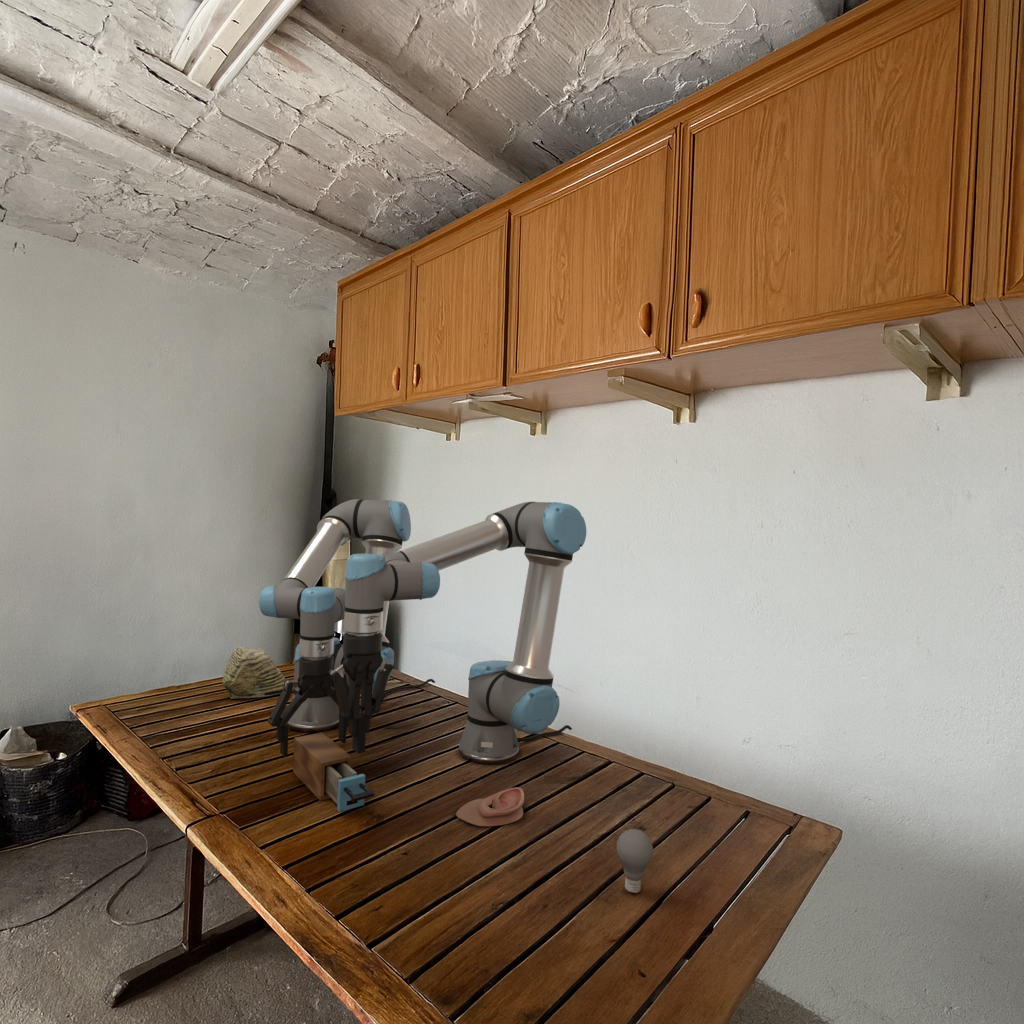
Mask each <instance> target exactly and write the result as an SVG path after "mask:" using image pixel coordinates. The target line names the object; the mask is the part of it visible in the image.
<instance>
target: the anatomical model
mask: <svg viewBox="0 0 1024 1024" xmlns="http://www.w3.org/2000/svg"><path fill="white" fill-rule="evenodd" d="M524 803H525V792H524V790H523V789H522V788H521V787H518V786H517V787H511V788H507V789H504V790H501V791H498V792H495V793H493V794H491V795H489V796H487V797H484V798H479V799H478V798H477V799H474V800H473V799H472V800H471V801H468V802H467V803H465V804H463V805H462V806H461V807H459V808H458V810H457V811H456V813H455V817H457V818H458V819H460V820H461V821H464V822H466V823H468V824H471V825H473V826H474V825H475V826H476V827H497V826H503V825H508V824H511V823H515V822H517V821H519V820H520V819H521V818H522V817H523V816H524V808H523V806H524Z"/></svg>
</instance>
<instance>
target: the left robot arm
mask: <svg viewBox="0 0 1024 1024" xmlns="http://www.w3.org/2000/svg"><path fill="white" fill-rule="evenodd" d="M411 533H412V523H411V515H410V510H409V508H408V506H407V505H406V503H404V502H403V501H398V500H392V499H389V500H385V499H384V500H383V499H362V498H355V499H350V500H346V501H344V502H342V503H340V504H338V505H336V506H334V507H333V508H332V509H330V510H329V511H328V512H327V513H325V514H324V515H323V516H322V518H321V519H320V520H319V522H318V524H317V525H316V532H315V534H314V535H313V537H311V540H310V541H309V542H308V544H307V545H306V546H305V548H304V550H303V551H302V552H301V554H300V555H299V556H298V558H297V560H295V562H294V563H293V565H292V567H291V568H290V569H289V571H288V572H287V573H286V575H285V576H284V578H283V579H282V581H280V583H279V585H275V584H274V585H267V586H266V587H264V588H263V589H261V593H260V594H259V599H258V607H259V611H260V612H261V614H262V615H263V616H265V617H271V618H277V619H292V620H294V619H295V620H299V621H300V622H299V623H300V624H299V625H300V627H299V643H298V644H297V645H296V647H295V652H294V653H295V654H294V659H293V661H294V672H293V680H289V679H285V681H284V686H283V691H282V693H280V694H279V697H278V699H277V701H276V703H275V705H274V707H273V708H272V711H271V712H270V715H269V717H268V719H267V723H268V724H269V725H270V726H271V727H274V728H275V727H276V733H275V735H276V736H275V738H276V740H277V741H278V742H279V743H280V745H279V753H280V754H281V755H282V756H283V758H286V757H288V756H289V755H288V754H289V752H288V751H289V730H291V731H294V732H295V731H296V732H301V733H319V732H325V731H329V730H332V729H335V728H337V727H338V738H337V740H338V741H339V742H340V743H341V744H346V743H347V728H349V719H346V718H345V717H343V716H342V715H341V714H340V711H339V706H338V701H337V696H336V691H335V686H334V681H333V679H332V678H331V676H330V675H329V671H330V670H331V669H333V670H335V669H336V668H337V667H338V666H340V665H341V664H340V662H341V660H342V658H343V644H341V641H340V639H339V638H338V637H335V628H336V627H335V626H336V623H339V622H340V621H344V611H345V587H336V588H333V587H330V586H316V585H317V584H318V582H319V580H320V578H321V577H322V576H323V574H324V572H325V571H326V569H327V567H328V566H329V564H330V563H331V562H332V560H333V559H334V557H335V555H336V554H337V552H338V550H339V549H340V547H342V546H344V545H346V544H347V543H348V541H349V540H352V539H360V540H361V545H362V546H363V547H364V548H365V553H364V554H380V555H383V556H386V555H389V554H392V553H395V552H398V551H401V550H402V548H403V543H405V542H408V541H409V540H410V537H411ZM389 606H390V601H384V606H383V607H384V608H383V628H382V630H381V631H380V633H381V634H382V650H381V655H382V657H383V661H385V662H387V663H389V664H391V665H393V666H394V663H395V652H394V649H392V648H391V647H390V641H389V639H388V638H387V637H386V629H387V627H386V626H387V621H388V615H389V614H388V613H389ZM378 671H379V669H378V670H377V671H376V673H375V674H374V683H373V685H372V691H373V689H374V685H375V681H376V677H377V674H378ZM392 672H393V670H392V671H391V672H390V674H389V676H388V679H387V683H386V685H387V684H388V682H389V680H390V677H391V675H392ZM343 673H344V677H343V680H344V683H345V688H346V693H347V698H348V703H349V687H350V683H349V676H348V675H347V674H346V672H345V671H344V672H343ZM430 682H432V683H433V684H435V683H436V681H435V680H434V679H433V678H428V679H427V680H425V681H424V682H422V683H419V684H413V685H405V686H404V685H403V686H398V687H394V688H391V689H388V690H385V691H384V695H383V697H385V696H386V695H388V694H390V693H392V692H397V691H400V690H408V689H417V688H422V687H424V686H425V685H428V683H430ZM361 687H362V685H361V686H360V691H361ZM292 693H293V695H292ZM291 696H293V697H292V699H291V701H290V702H289V700H290V698H291ZM287 704H288V705H287ZM360 709H361V704H360Z"/></svg>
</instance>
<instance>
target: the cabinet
mask: <svg viewBox="0 0 1024 1024" xmlns="http://www.w3.org/2000/svg"><path fill="white" fill-rule="evenodd" d="M292 760H293V761H292V773H293V774H294V775H295V776H296V777H297V778H298V779H299V780H300V782H302V784H304V785H305V786H306V787H307V789H308V790H310V792H311V793H312V794H313V795H314V796H315V798H317V799H318V800H319V801H324V800H328V799H332V798H331V797H330V796H329V795H328V794H327V793H326V792H325V791H324V781H325V766H327V765H332V764H336V763H340V762H345V763H346V764H347V765H348V766H350V767H351V768H352V756H351V755H350V754H349V753H348V752H347V751H345V750H344V749H343V748H342V747H341V746H340V745H338V744H337V743H336V742H335V741H333V740H332V739H331V738H330V737H328V736H327V735H326V734H325V733H324V732H323V731H320V732H315V733H312V734H306V735H301V736H295V737H293V759H292Z"/></svg>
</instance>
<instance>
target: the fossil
mask: <svg viewBox="0 0 1024 1024" xmlns="http://www.w3.org/2000/svg"><path fill="white" fill-rule="evenodd" d="M222 676H223V677H222V685H223V687H224V688H225V690H226V691H228V693H229V698H230V699H250V698H264V697H271V696H275V695H281V693H282V691H283V686H284V681H285V680H286V678H285V676H284V674H283V673H282V672H281V669H279V668H278V667H277V665H276V663H275V662H274V660H273V659H272V658H271V657H270V656H269V655H268V654H267V653H266V652H265V650H264V649H263V648H260V647H258V648H251V647H247V646H246V647H245V646H238V647H237V648H236V649H235V650H233V651H232V653H231V656H230V657H229V659H228V660H227V663H226V666H225V668H224V671H223V675H222Z"/></svg>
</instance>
